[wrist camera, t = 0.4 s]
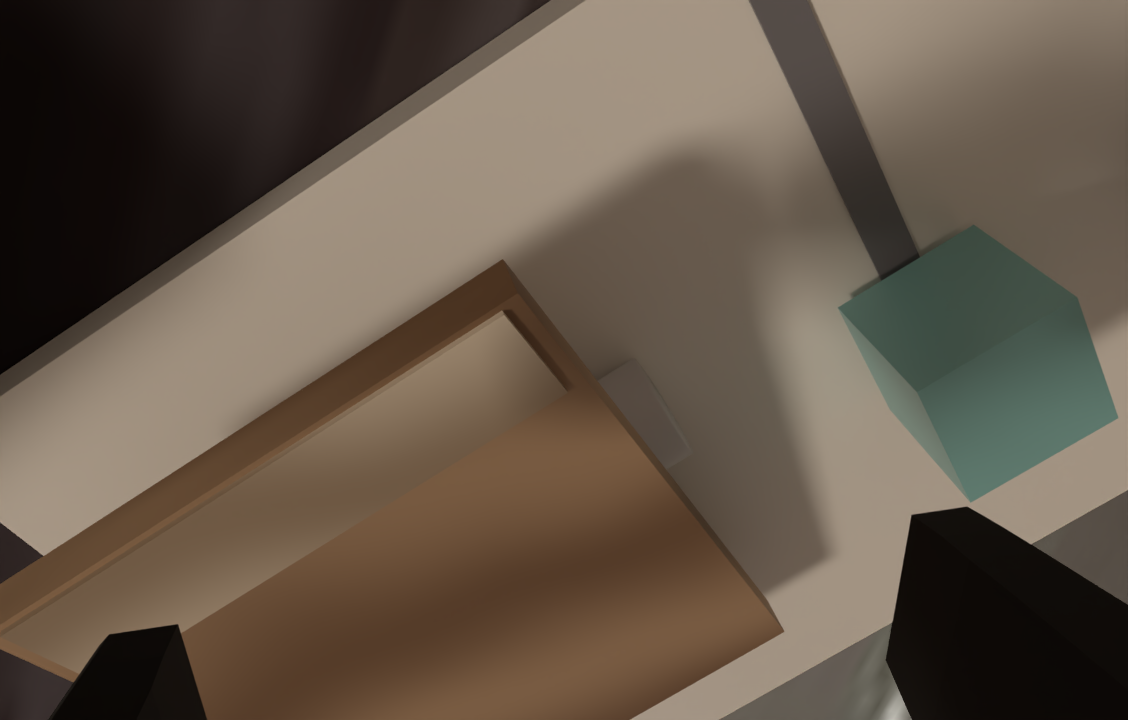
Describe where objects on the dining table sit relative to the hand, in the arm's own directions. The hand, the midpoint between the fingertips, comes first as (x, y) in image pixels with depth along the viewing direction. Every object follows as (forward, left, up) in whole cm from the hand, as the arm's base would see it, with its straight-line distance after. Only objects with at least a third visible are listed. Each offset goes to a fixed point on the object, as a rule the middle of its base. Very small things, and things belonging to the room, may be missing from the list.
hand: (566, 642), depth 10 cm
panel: (-5, -4, -10) cm, 11 cm away
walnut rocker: (-4, +3, -6) cm, 8 cm away
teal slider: (-6, -7, -8) cm, 12 cm away
